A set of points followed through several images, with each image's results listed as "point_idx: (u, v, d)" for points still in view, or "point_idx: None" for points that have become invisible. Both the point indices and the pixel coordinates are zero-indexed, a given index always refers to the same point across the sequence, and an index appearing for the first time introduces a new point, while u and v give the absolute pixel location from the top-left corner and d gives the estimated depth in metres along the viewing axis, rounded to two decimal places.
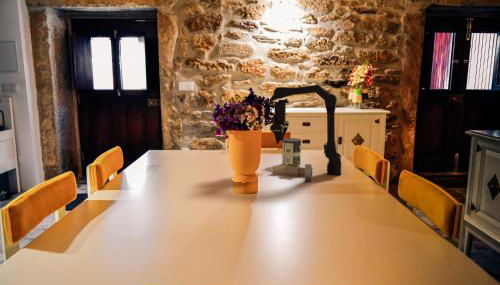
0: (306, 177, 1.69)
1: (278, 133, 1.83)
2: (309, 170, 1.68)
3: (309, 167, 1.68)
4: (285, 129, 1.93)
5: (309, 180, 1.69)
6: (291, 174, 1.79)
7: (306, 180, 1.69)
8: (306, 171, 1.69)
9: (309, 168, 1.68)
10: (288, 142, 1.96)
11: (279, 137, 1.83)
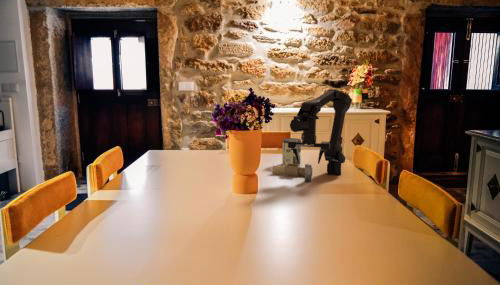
0: (306, 177, 1.69)
1: None
2: (309, 170, 1.68)
3: (309, 167, 1.68)
4: (319, 152, 1.65)
5: (309, 180, 1.69)
6: (291, 174, 1.79)
7: (306, 180, 1.69)
8: (306, 171, 1.69)
9: (309, 168, 1.68)
10: None
11: None
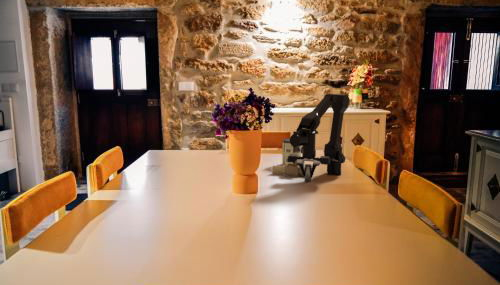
0: (306, 177, 1.69)
1: None
2: (309, 170, 1.68)
3: (309, 167, 1.68)
4: (312, 166, 1.67)
5: (309, 180, 1.69)
6: (291, 174, 1.79)
7: (306, 180, 1.69)
8: (306, 171, 1.69)
9: (309, 168, 1.68)
10: (288, 142, 1.96)
11: None
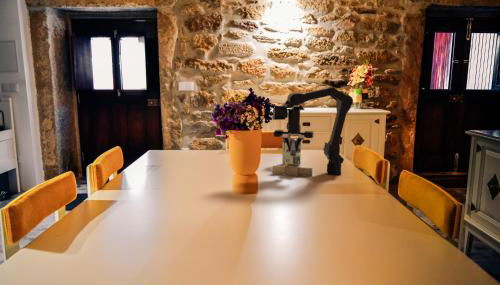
0: (291, 151, 1.78)
1: None
2: (294, 144, 1.77)
3: (294, 141, 1.77)
4: (297, 140, 1.76)
5: (294, 154, 1.78)
6: (291, 174, 1.79)
7: (291, 154, 1.78)
8: (291, 145, 1.78)
9: (294, 142, 1.77)
10: None
11: None
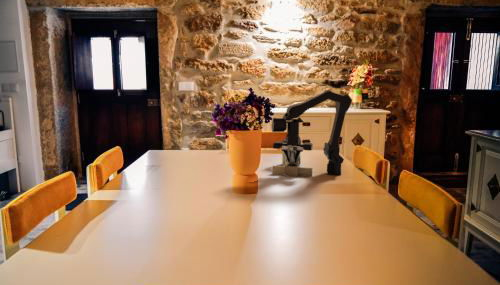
0: (290, 163, 1.80)
1: None
2: (293, 156, 1.79)
3: (293, 153, 1.79)
4: (296, 152, 1.78)
5: (293, 165, 1.80)
6: (291, 174, 1.79)
7: (291, 165, 1.80)
8: (290, 157, 1.79)
9: (293, 154, 1.79)
10: None
11: None
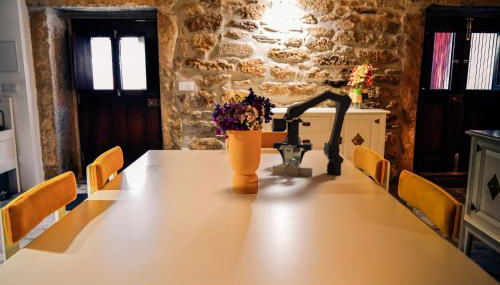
0: None
1: None
2: (293, 164, 1.80)
3: (293, 161, 1.79)
4: (301, 152, 1.77)
5: None
6: (291, 174, 1.79)
7: None
8: (290, 165, 1.80)
9: (293, 162, 1.80)
10: None
11: None
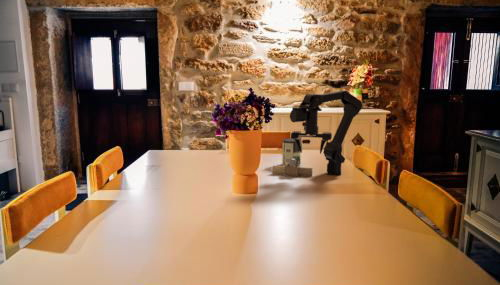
0: None
1: None
2: (293, 164, 1.80)
3: (293, 161, 1.79)
4: (321, 142, 1.72)
5: None
6: (291, 174, 1.79)
7: None
8: (290, 165, 1.80)
9: (293, 162, 1.80)
10: (288, 142, 1.96)
11: None
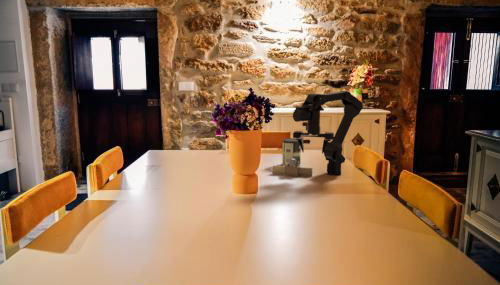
0: None
1: None
2: (293, 164, 1.80)
3: (293, 161, 1.79)
4: None
5: None
6: (291, 174, 1.79)
7: None
8: (290, 165, 1.80)
9: (293, 162, 1.80)
10: (288, 142, 1.96)
11: None
